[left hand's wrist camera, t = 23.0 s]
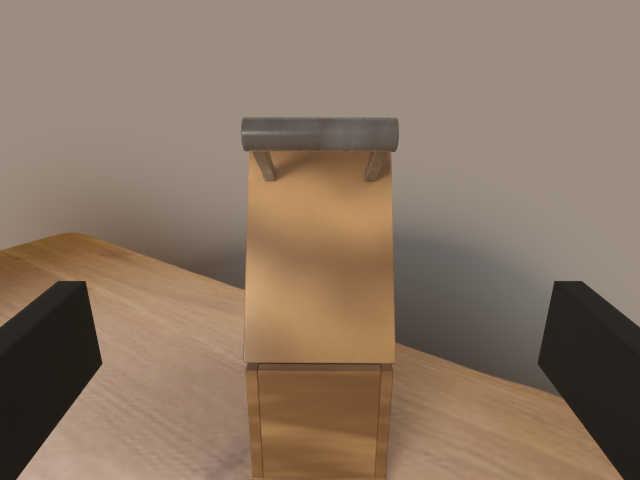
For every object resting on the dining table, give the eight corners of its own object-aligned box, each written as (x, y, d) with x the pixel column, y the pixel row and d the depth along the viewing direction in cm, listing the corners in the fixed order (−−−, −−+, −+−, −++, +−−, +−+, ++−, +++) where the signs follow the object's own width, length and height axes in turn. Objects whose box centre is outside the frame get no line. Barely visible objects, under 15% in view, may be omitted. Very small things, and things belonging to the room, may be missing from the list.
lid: (252, 144, 29) (223, 75, 21) (388, 144, 29) (416, 76, 21) (246, 360, 27) (211, 385, 19) (392, 361, 27) (426, 386, 19)
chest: (272, 366, 43) (269, 277, 39) (366, 366, 43) (370, 277, 39) (253, 486, 30) (245, 370, 27) (385, 486, 30) (393, 371, 27)
